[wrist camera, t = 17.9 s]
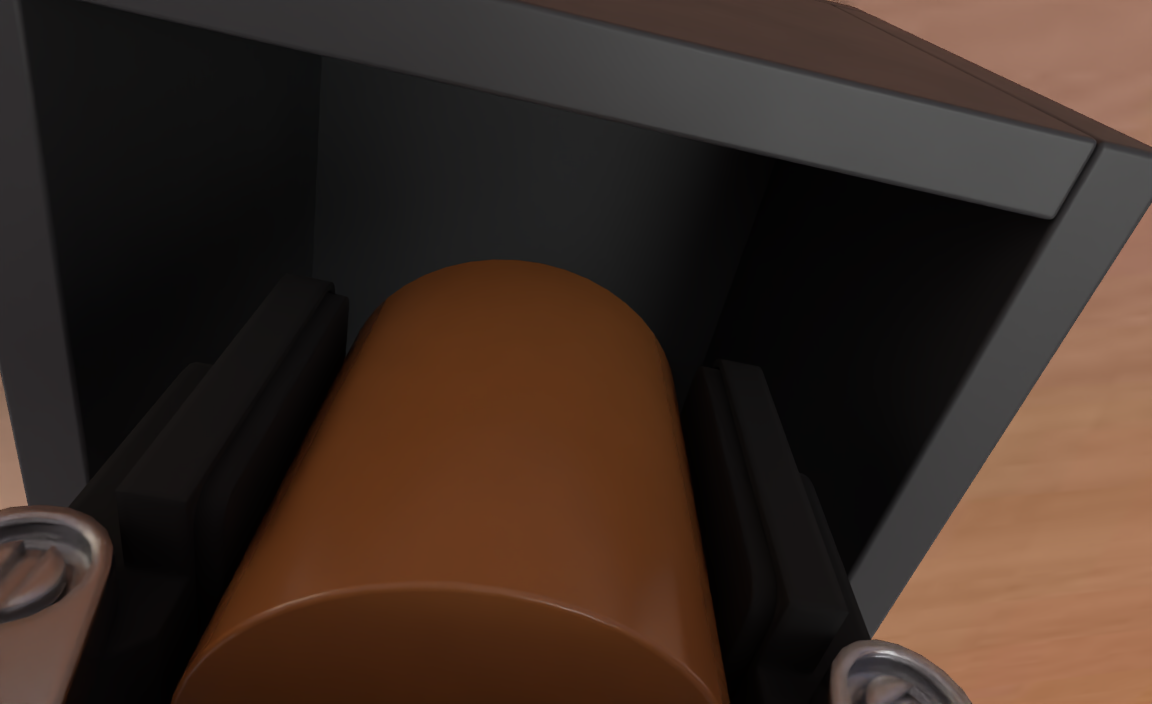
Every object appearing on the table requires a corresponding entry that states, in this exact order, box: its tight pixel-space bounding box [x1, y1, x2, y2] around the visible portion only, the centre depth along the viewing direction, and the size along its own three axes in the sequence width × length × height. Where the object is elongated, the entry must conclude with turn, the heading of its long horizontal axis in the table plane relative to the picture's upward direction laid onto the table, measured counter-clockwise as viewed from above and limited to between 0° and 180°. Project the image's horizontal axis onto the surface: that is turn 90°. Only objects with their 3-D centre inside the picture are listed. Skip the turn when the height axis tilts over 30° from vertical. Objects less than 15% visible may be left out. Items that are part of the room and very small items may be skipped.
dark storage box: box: [0, 0, 1152, 638], centre depth 16 cm, size 16×12×11 cm
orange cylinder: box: [170, 259, 730, 704], centre depth 8 cm, size 4×4×5 cm
